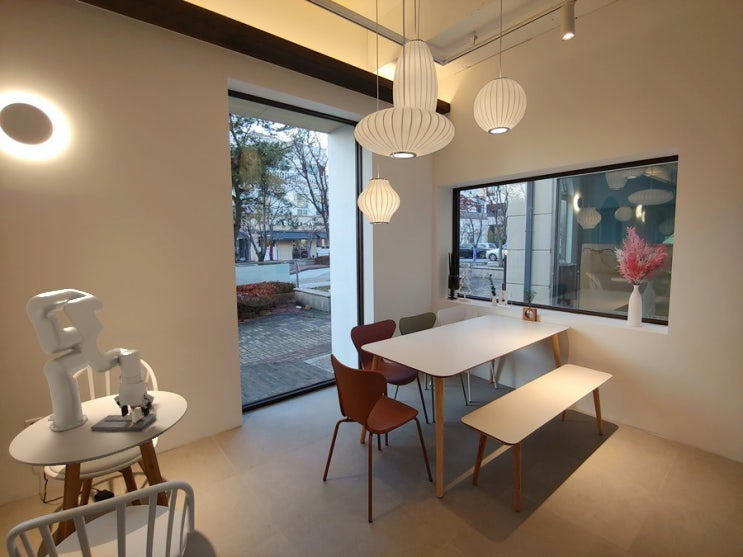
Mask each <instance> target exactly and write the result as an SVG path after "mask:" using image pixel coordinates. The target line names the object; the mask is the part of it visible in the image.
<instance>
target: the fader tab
mask: <svg viewBox="0 0 743 557" xmlns="http://www.w3.org/2000/svg"><path fill="white" fill-rule="evenodd" d="M141 407H142V406H141ZM141 407H137V408H135V409H134V410H133V411H132V410H131V411H130V412H131V416H132V422H137V421H138V420H140V419H141V418H142V413H141Z"/></svg>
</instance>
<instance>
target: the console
mask: <svg viewBox="0 0 743 557" xmlns="http://www.w3.org/2000/svg"><path fill="white" fill-rule="evenodd" d="M156 419H157V415H156V414H149V415H147V416H146V417H144V416H143V415H142V418H141V419H140V420H138V421H137V422H132V416H131V415H130V414H127V415H126V416H124V417H122V414H108V415H106V417H104V418H102V419H101V420H99V421H97V423H95V424H94V425H91V427H90V431H91V432H143V431H144V429H146V428H147V427H149V425H151V424H152V423H153V422H154V421H156Z"/></svg>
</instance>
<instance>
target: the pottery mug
mask: <svg viewBox="0 0 743 557" xmlns="http://www.w3.org/2000/svg"><path fill="white" fill-rule="evenodd" d="M148 401H149V399H148ZM144 403H145V402H144ZM145 404H146V403H145ZM129 407H131V411H133V410H134V409H135V408H137V407H141V413H142V415H143V408H144V407H143V406H142V405H136V406H132V405H129ZM149 408H150V410H151V409H152V408H153V403H152V404H151V405H150V406H149ZM131 411H130V412H129V415H131Z"/></svg>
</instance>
